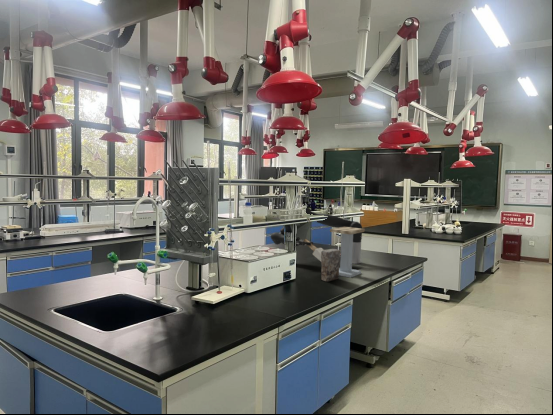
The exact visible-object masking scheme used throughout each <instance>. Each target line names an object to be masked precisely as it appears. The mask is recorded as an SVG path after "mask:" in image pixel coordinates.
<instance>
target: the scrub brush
mask: <svg viewBox="0 0 553 415" xmlns="http://www.w3.org/2000/svg"><path fill="white" fill-rule="evenodd" d="M303 240H304V242H309V241H310V240H308V239H307V238H305V239H303ZM306 246H307V247H308V248H309V249H311V250H312V251H313V252H312V256H313V257H315V258H316V259H317V260H318V261H320V262H321V252H322V251H323V250H324V248H322V247H316V246H315V245H314V243H313V244H312V243H311V246H309V245H306Z"/></svg>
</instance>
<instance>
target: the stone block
mask: <svg viewBox="0 0 553 415" xmlns="http://www.w3.org/2000/svg"><path fill="white" fill-rule="evenodd" d="M340 260H341V249H340V250H339V249H336V248H329V249H323V251H322V252H321V261H320V262H321V269H320V271H321V272H320V273H321V280H322V281H324V282H331V281H335V280H338V279H339V276H340V275H339V268H340Z"/></svg>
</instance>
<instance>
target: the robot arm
mask: <svg viewBox="0 0 553 415" xmlns="http://www.w3.org/2000/svg"><path fill="white" fill-rule="evenodd" d="M305 208H306V213H307V214H310V215H311V214H313V215H324V216H328V218H327V219H325V220H323V221H317V222H316V223H317V224H320V225H324V226H327V227H330V228H340V227H352V228H361V229H363V226H362V224H361V223H360V222H358V221H354V220H348V219H344V218H342V217H338V216H336V215H333V214H328V213H317V212H313V211H312V210H311V209H310V208H309V207H305ZM296 237H297V238H296V246H295V247H299V246H307V245H309V246H311V243H312V244H313V245H314V242H313V241H310V240H308V241H309V242H304V239H301V238H300V237H299V236H296ZM270 239H271V241H272V242H273V243H274V244H275V246H276V245H277V246H278V245H280V244H282V245H285V244H284V226H283V227H282V228H281V229H280V231H279V232H273V233H271V234H270ZM362 239H363V232H360V233H356V234H353V249H352V265H353V264H355V265H356V264H361V259H362V258H361V257H362V256H361V254H362Z"/></svg>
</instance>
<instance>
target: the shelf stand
mask: <svg viewBox="0 0 553 415" xmlns="http://www.w3.org/2000/svg"><path fill="white" fill-rule="evenodd" d="M365 230H366V229H365V228H362V229H361V228H352V227H340V228H335V227H333V228H330V229H329V232H330V233H335V234H341V236H340V237H341V238H340V239H341V242H340V252H341V253H340V263H339V276H341V277H347V278H350V279H351V278H353V277H356V276H358V275H361V274H362V270H360V269H359V270H358V269H353V268H352V267H353V263H352V249H353V234H356V233H360V232H362V233H364V232H365Z"/></svg>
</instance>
